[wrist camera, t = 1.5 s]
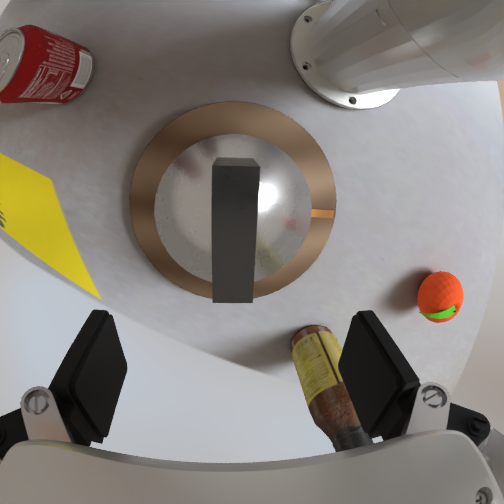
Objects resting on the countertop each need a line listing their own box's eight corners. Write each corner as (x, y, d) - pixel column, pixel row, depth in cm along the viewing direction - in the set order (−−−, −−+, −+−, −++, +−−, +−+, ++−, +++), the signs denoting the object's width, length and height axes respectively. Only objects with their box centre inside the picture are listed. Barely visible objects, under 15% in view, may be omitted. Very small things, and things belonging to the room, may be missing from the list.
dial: (156, 135, 22) (127, 137, 15) (314, 139, 23) (345, 143, 17) (163, 276, 28) (146, 320, 21) (299, 277, 29) (317, 321, 22)
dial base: (134, 107, 23) (126, 105, 21) (338, 113, 24) (346, 112, 22) (145, 288, 31) (140, 299, 29) (315, 290, 33) (321, 301, 31)
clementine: (400, 312, 36) (424, 343, 29) (403, 272, 33) (432, 301, 26) (441, 296, 35) (467, 322, 29) (446, 257, 33) (477, 281, 26)
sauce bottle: (288, 358, 37) (318, 488, 19) (290, 325, 35) (330, 469, 16) (332, 352, 37) (378, 472, 19) (338, 319, 35) (400, 448, 17)
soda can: (107, 51, 20) (43, 19, 9) (81, 110, 22) (6, 109, 11) (62, 44, 18) (-5, 22, 7) (40, 98, 20) (-34, 99, 10)
